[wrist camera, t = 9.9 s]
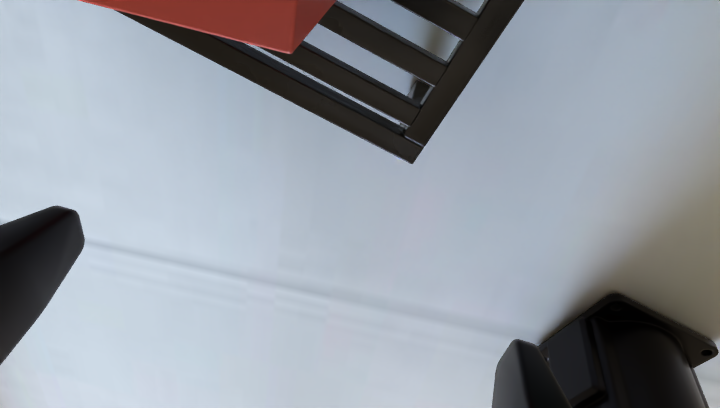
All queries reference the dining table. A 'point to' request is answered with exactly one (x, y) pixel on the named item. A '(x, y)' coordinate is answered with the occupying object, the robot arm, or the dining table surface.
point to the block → (234, 18)
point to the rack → (412, 111)
